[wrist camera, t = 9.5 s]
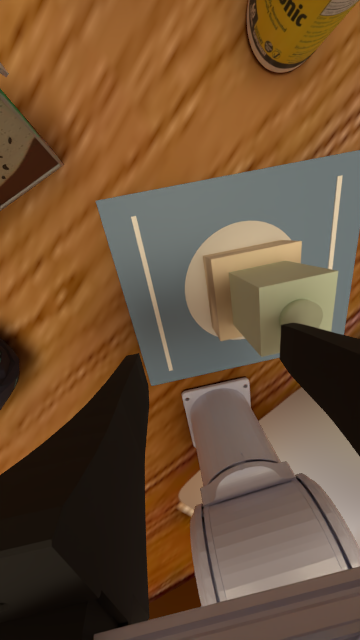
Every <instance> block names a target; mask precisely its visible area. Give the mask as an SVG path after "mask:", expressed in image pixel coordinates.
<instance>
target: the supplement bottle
mask: <svg viewBox="0 0 360 640" xmlns="http://www.w3.org/2000/svg"><path fill="white" fill-rule="evenodd" d="M358 1H359V0H248V7H247V32H248V37H249V41H250V45H251V48H252V50H253V52H254V54H255V56H256V58H257V59H258V61H259V62H260V63H261V64H262V65H263V66H264V67H265V68H266V69H268V70H270V71H273V72H277V73H283V72H288V71H291V70H293V69H295V68H297V67H298V66H300V65H301V64H303V63H304V62H305V61H306V60H307V59H308V58H309V57H310V56H311V55H312V54H313V53H314V52H315V51H316V49H317V48H318V47H319V46H320V45H321V44H322V42H323V41H324V40H325V39H326V38H327V37H328V36H329V34H330V33H331V32H332V31H333V30H334V29H335V27H336V26H337V25H338V24H339V23H340V22H341V21H342V19H343V18H344V17H345V16H346V15H347V14H348V13H349V11H350V10H351V9H352V8H353V7H354V6H355V5H356V3H357V2H358Z"/></svg>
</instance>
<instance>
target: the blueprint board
mask: <svg viewBox="0 0 360 640" xmlns="http://www.w3.org/2000/svg"><path fill="white" fill-rule="evenodd" d="M96 204H97V207H98V211H99V214H100V217H101V220H102V224H103V227H104V230H105V234H106V237H107V240H108V244H109V247H110V250H111V254H112V257H113V260H114V264H115V267H116V270H117V273H118V277H119V280H120V283H121V287H122V290H123V293H124V297H125V300H126V303H127V307H128V310H129V313H130V317H131V320H132V323H133V327H134V330H135V333H136V336H137V340H138V343H139V346H140V350H141V353H142V356H143V360H144V363H145V366H146V370H147V373H148V376H149V380H150V383H151V386H154V385H158V384H163V383H167V382H172V381H176V380H181V379H185V378H190V377H194V376H199V375H203V374H207V373H212V372H216V371H221V370H225V369H230V368H234V367H239V366H243V365H248V364H252V363H257V362H261V361H266V360H270V359H275V358H279V357H280V353H277V354H273V355H268V356H264V357H261V356H260V355H259V354H258V353H257V351H256V350H255V349H254V348H253V347H252V346H251V345H250V343H249V342H248V341H247V340H246V339H245V338H244V337H243V335H242V334H241V333H240V332H239V331H238V330H237V328H236V327H235V326H234V325H233V314H232V303H231V292H230V281H229V272H233V271H238V270H243V269H247V268H252V267H257V266H262V265H266V264H271V263H276V262H281V261H285V260H286V261H291V262H296V263H301V264H306V265H311V266H316V267H321V268H326V269H331V270H337V271H338V278H337V287H336V295H335V304H334V312H333V320H332V329H331V332H334V333H337V334H341V335H344V329H345V323H346V316H347V309H348V303H349V296H350V289H351V283H352V276H353V269H354V263H355V256H356V249H357V243H358V236H359V229H360V150H358V151H353V152H347V153H342V154H337V155H332V156H327V157H321V158H316V159H311V160H306V161H301V162H295V163H290V164H285V165H280V166H275V167H269V168H264V169H259V170H254V171H249V172H243V173H238V174H233V175H228V176H223V177H218V178H212V179H207V180H202V181H197V182H192V183H186V184H181V185H176V186H171V187H166V188H160V189H155V190H150V191H145V192H140V193H134V194H129V195H124V196H119V197H114V198H108V199H103V200H98V201H96Z"/></svg>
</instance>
